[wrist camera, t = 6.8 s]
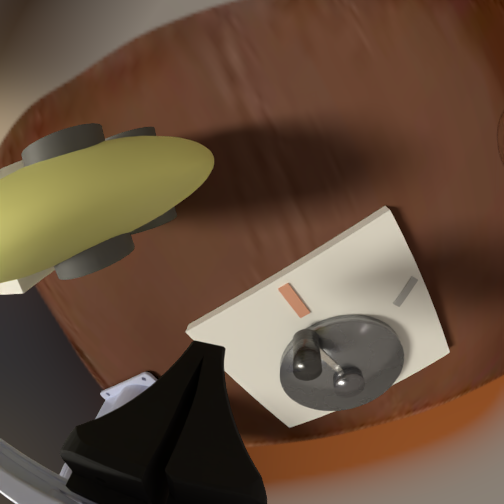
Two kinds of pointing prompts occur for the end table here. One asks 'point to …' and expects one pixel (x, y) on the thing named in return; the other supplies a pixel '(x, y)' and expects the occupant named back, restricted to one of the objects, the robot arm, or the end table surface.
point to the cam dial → (341, 362)
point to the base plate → (325, 310)
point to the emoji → (89, 199)
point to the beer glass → (501, 137)
